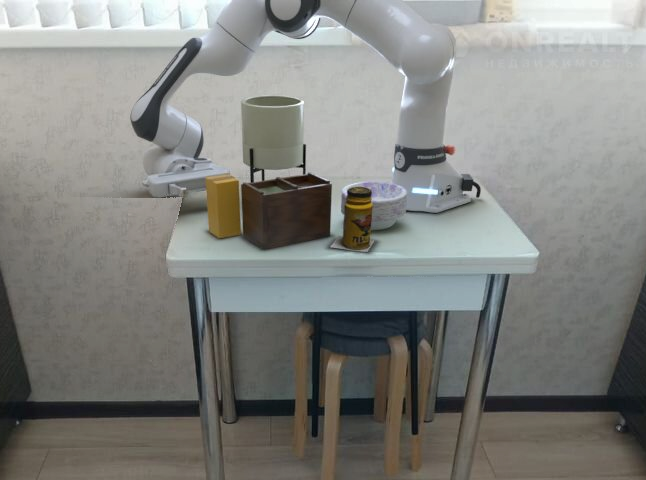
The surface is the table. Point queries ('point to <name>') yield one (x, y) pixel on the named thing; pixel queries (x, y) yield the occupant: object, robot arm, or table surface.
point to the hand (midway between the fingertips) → (202, 189)
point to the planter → (273, 133)
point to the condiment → (356, 221)
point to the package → (223, 205)
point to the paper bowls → (382, 202)
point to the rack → (286, 210)
